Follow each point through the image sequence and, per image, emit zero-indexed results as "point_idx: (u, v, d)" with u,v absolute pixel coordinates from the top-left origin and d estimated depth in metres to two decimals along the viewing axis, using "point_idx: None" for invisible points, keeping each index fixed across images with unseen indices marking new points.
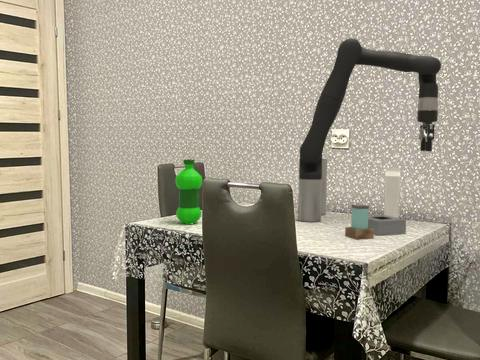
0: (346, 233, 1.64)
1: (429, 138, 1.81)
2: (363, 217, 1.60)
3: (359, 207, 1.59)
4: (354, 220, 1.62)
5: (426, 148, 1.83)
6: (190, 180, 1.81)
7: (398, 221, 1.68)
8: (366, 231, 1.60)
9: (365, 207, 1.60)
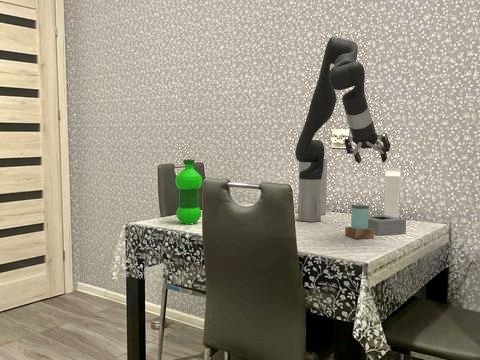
0: (346, 233, 1.64)
1: None
2: (363, 217, 1.60)
3: (359, 207, 1.59)
4: (354, 220, 1.62)
5: None
6: (190, 180, 1.81)
7: (398, 221, 1.68)
8: (366, 231, 1.60)
9: (365, 207, 1.60)
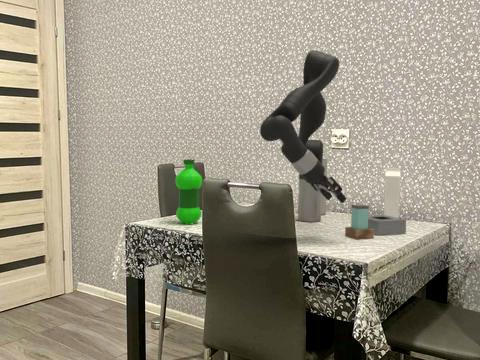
0: (346, 233, 1.64)
1: None
2: (363, 217, 1.60)
3: (359, 207, 1.59)
4: (354, 220, 1.62)
5: None
6: (190, 180, 1.81)
7: (398, 221, 1.68)
8: (366, 231, 1.60)
9: (365, 207, 1.60)
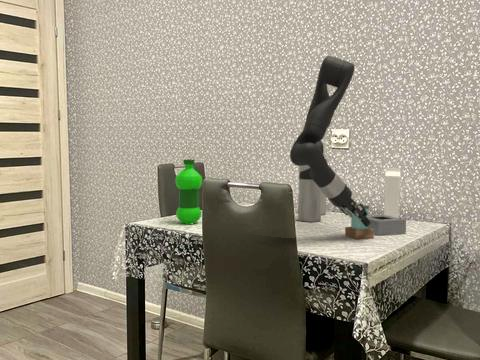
0: (346, 233, 1.64)
1: None
2: None
3: None
4: (354, 220, 1.62)
5: None
6: (190, 180, 1.81)
7: (398, 221, 1.68)
8: (366, 231, 1.60)
9: (365, 207, 1.60)
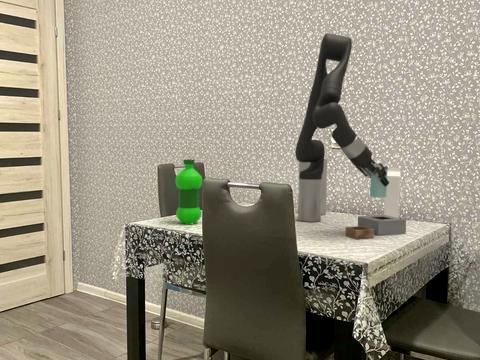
0: (346, 233, 1.64)
1: None
2: None
3: None
4: (373, 180, 1.70)
5: None
6: (190, 180, 1.81)
7: (398, 221, 1.68)
8: (366, 231, 1.60)
9: (384, 168, 1.68)
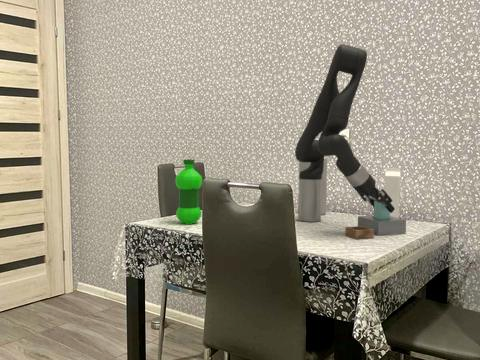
0: (346, 233, 1.64)
1: None
2: (385, 210, 1.71)
3: None
4: (376, 213, 1.72)
5: None
6: (190, 180, 1.81)
7: (398, 221, 1.68)
8: (366, 231, 1.60)
9: None
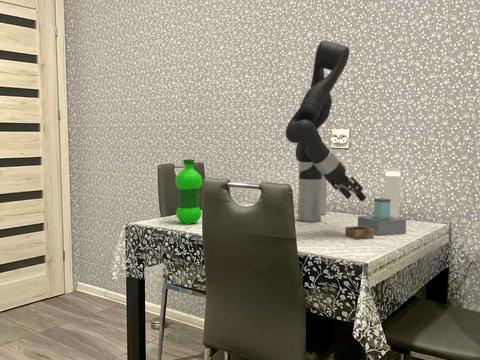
0: (346, 233, 1.64)
1: None
2: (385, 210, 1.71)
3: (382, 200, 1.70)
4: (376, 213, 1.72)
5: None
6: (189, 180, 1.81)
7: (398, 221, 1.68)
8: (366, 231, 1.60)
9: (387, 201, 1.71)
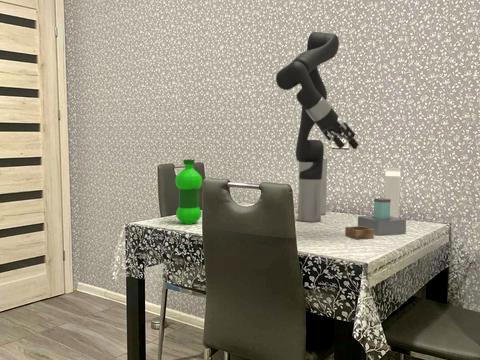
0: (346, 233, 1.64)
1: None
2: (385, 210, 1.71)
3: (382, 200, 1.70)
4: (376, 213, 1.72)
5: None
6: (190, 180, 1.81)
7: (398, 221, 1.68)
8: (366, 231, 1.60)
9: (387, 201, 1.71)
